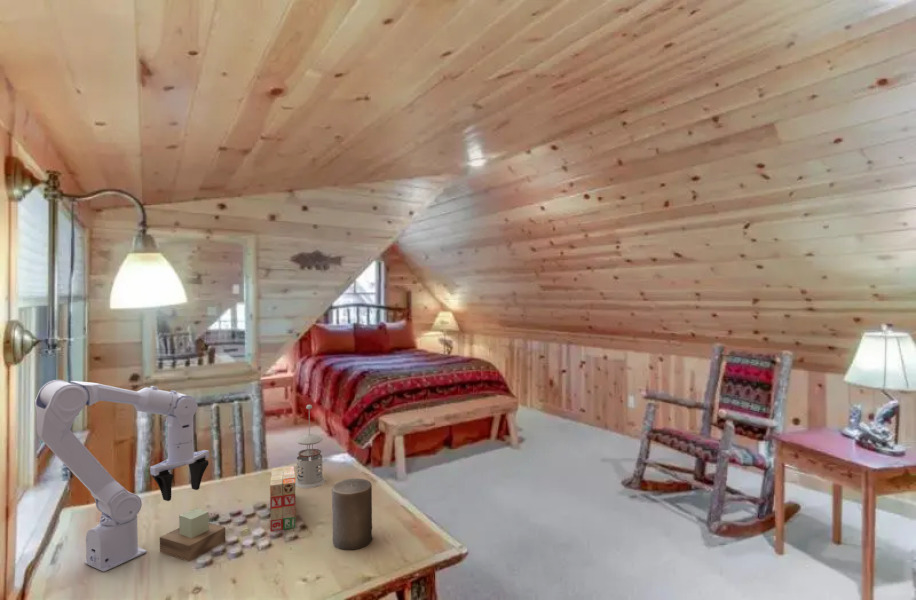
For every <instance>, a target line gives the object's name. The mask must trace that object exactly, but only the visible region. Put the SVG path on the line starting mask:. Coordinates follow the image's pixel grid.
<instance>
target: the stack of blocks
mask: <svg viewBox="0 0 916 600" xmlns="http://www.w3.org/2000/svg"><path fill="white" fill-rule="evenodd" d="M295 471H296V470H295V467H294V465H293V466H292V465H290V466H282V467H274V468H270V482H269V483H270V485H269V492H270V496H269V497H270V498H269V499H270V500H269V501H270V502H269V503H270V505H269V506H270V507H269V508H270V518H269V519H270V520H269V521H270V522H269V523H270V526H269V527H270V528H269V530H270V532H275V531H274V530H277V531H282V530H289V529H296V508H297V507H296V501H297V500H296V482H295V481H296V472H295Z"/></svg>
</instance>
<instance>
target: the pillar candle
mask: <svg viewBox="0 0 916 600" xmlns="http://www.w3.org/2000/svg"><path fill="white" fill-rule="evenodd" d="M372 488H373V487H372V482H371V480H370V481H369V480H368V479H364V478H347V479H342V480H340V481H337V482H336V483H334V484H333V485H332V486H331V495H332V497H331V498H332V499H331V500H332V543H333V546H334V547H335V548H337V549H340V550H344V551H347V550H356V549H362V548H365V547H366V546H368V545H369V544H371V543H372V541H373V537H374V536H373V502H372V501H373V500H372V499H373V496H372V495H373V493H372V490H373V489H372Z"/></svg>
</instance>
